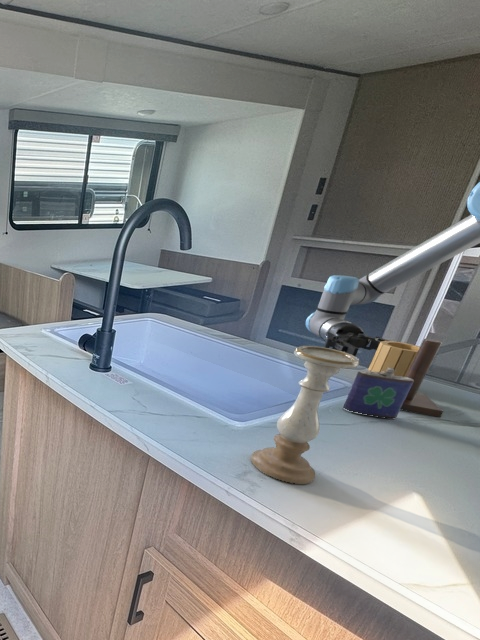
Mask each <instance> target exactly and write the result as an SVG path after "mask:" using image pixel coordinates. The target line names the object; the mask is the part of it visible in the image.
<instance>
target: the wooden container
mask: <svg viewBox="0 0 480 640" xmlns="http://www.w3.org/2000/svg"><path fill="white" fill-rule="evenodd" d="M419 348H420V346H419V345H416V344H412V343H406V342H402V341H396V340H395V341H394V340H389V341H382V342H380V344H379V346H378V349H377V350H375V353H374V355H373V357H372V360H371V361H370V365H369V367H368V369H367V371H368V370H371V372H374V373H377V372H380V373H381V372H382V371H386V370H387V368H388V367H390V368H393V369H394V372H393V374H394V375H393V376H402V377H406V375H407V373H408V371H409V369H410V367H411V365H412V363H413V361H414V358H415V356H416V354H417V352H418V350H419ZM375 371H377V372H375ZM395 371H396V372H395Z"/></svg>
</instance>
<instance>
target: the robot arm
mask: <svg viewBox="0 0 480 640" xmlns="http://www.w3.org/2000/svg"><path fill="white" fill-rule="evenodd" d="M466 207H467V210H468V212H469V213H470V215H468V216H466V217H464V218H463V219H461V220H459V221H458V222H456V223H454V224H453V225H450V226H449V227H447V228H445V229H443V230H442V231H440V232H439V233H437V234H435V235H433V236H432V237H429V238H428V239H426V240H425V241H423V242H421V243H420V244H418V245H415V246H414V247H413V248H411V249H409V250H407V251H406V252H404V253H402V254H401V255H399V256H397V257H395V258H394V259H392V260H390V261H389V262H387V263H385V264H383V265H382V266H380V267H378V268H377V269H375V270H373V271H371V272H370V273H368V274H366V275H364V276H362V277H361V278H358V277H356V276H350V275H338V274H334V275H330V276H329V278H328V279H327V282H326V283H325V285H324V287H323V291H322V294H321V296H320V300H319V302H318V305H317V308H316V310H315V311H313V312H312V313H310V315H308V316H307V318H306V320H305V327H306V330H307V331H309V332H310V333H311V334H312V335H314V336H316V337H318V338H321V339H322V341H323V342H324V345H323V347H325V348H331V349H335V350H339V351H342V352H346V353H349V354H351V355H353V356H355V357H357V354H358V352H359V349H363V350H368V351H372V350H374V351H377V349H378V346H379V344H380V342H382V341H390V340H389V339H385V338H382V337H380V336H375V337H374V336H369V335H368V334H366V333H364V330H363V328H362V327H360V326H359V325H357V324H355V323H352V322H351V321H348V320H346V319H345V318H346V315H347V313H348V311H349V309H350V306H362V305H364V306H365V305H368V304H371V303H374V302H376V301H377V300H379V298H380V297H381V296H382V295H384V294H386V293H387V292H389V291H391V290H393V289H395V288H397V287H398V286H401V285H404V284H405V283H406V282H408V281H410V280H412V279H414V278H416V277H418V276H419V275H422V274H423V273H425V272H427V271H429V270H431V269H433V268H435V267H438V266H439V265H440V264H443V263H445V262H446V261H448V260H450V259H452V258H455V257H456V256H459V254H462V253H464V252H465V251H468V250H469V249H472V248H474V247H475V246H477V245H479V244H480V181H479V182H478V183H477V184H476V185H475V186H474V187H473V188H472V190H471V191H470V193H469V196H468V197H467V200H466Z"/></svg>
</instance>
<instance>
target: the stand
mask: <svg viewBox="0 0 480 640" xmlns="http://www.w3.org/2000/svg"><path fill="white" fill-rule="evenodd" d="M442 345H443V342H442V341H441V340H439V339H438V340H437V339H433V338H423V340H422V342H421V344H420V346H419V347H420V348H419V350H418V352H417V354H416V356H415V358H414V361H413V363H412V365H411V367H410V369H409V371H408V373H407V375H406V377H408V378H411V379H413V380H414V382H413V384H412V386H411V388H410V390H409V392H408V394H407V397H406V399H405V401H404V402H403V404H402V406H401V408H400V409H403V410H402V411H404V410H407V411H406V412H410V411H411V413H415V414H421V415H425V416H430V417H431V416H432V417H436V418H441V417H442V415H443V413H444V410H443V409H442V408H441V407H440V406H438V404H436V403H435V402H434V401H433V400H432V399H431V398H430V397H429V396H428V395H427V394H423V393H418V391H419V389H420V387H421V385H422V383H423V381H424V379H425V377H426V375H427V373H428V372H429V370H430V367H431V366H432V364H433V362H434V360H435V358H436V356H437V354H438V352H439V350H440V348H441V346H442Z"/></svg>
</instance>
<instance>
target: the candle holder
mask: <svg viewBox="0 0 480 640" xmlns="http://www.w3.org/2000/svg"><path fill="white" fill-rule="evenodd" d="M293 354H294V356H295V357H296V358H298V359H300V360H302V361H305V362H304V363H303V366H304V367H305V369H306V376H305V377H303V378H302V379H301V380H299V381H298V385H299V386H301V387H300V391H299V392H298V395H297V397H296V399H295V401H294V402H293V404H292V405H291V406H290V407H289V408H288V409H287V410H285V411H284V412H283V413H282V414H281V415H280V416H279V418H278V419H277V422H276V429H277V431H278V433H277V434H275V435H274V436H273V441H274V443H275V447H273V446H272V447H271V446H270V447H269V446H268V447H265V448H262V449H258V450H255V451H254V452H252V454H251V457H250V461H251V460H252V462H251V464H252V463H253V464H254V465H255V466H256V467H257V468H258V469H259V470H261V471H262V472H264V473H265V474H264V473H263V474H264V475H266V474H267V475H266V476H268V475H270V476H272V477H274V478H273V479H275V478H276V479H275V480H277V479H279V480H278V481H280V480H282V481H281V482H284V481H286V482H285V483H287V482H290V483H289V484H293V483H295V484H294V485H308V484H311V483H312V482H313V481H314V480H315V478H316V474H317V473H316V471H315V469H314V468H313V466H311V464H310V463H309V461H308V459H306V458H304V456H302V455H303V454H304V453H305V452H307V451H309V450H310V449H311V447H310V446H311V445H310V443H308V442H311V441H313V440H315V439H316V438H317V437H318V436H319V434H320V431H321V430H320V429H321V423H320V418H319V406H320V403H321V401H322V399H323V395H324V394H325V393H328V392H330V391H331V387H330V384H329V380H330V378H331V377H333V376H334V375H337V374H339V373H340V371H341V370H351V369H356V368H358V367H359V365H360V359H359V358H358V357H357V356H353V355H351V354H349V353H346V352H342V351H339V350H335V349H332V348H331V347H329V348H325V347H324V346H316V345H300V346H299V345H298V346H297V347H296V348H294V351H293ZM253 464H252V465H253ZM254 465H253V466H254ZM255 466H254V467H255ZM256 467H255V468H256ZM257 468H256V469H257ZM258 469H257V470H258ZM259 470H258V471H259ZM261 471H260V472H261ZM262 472H261V473H262ZM270 476H269V477H270ZM272 477H271V478H272Z"/></svg>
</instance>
